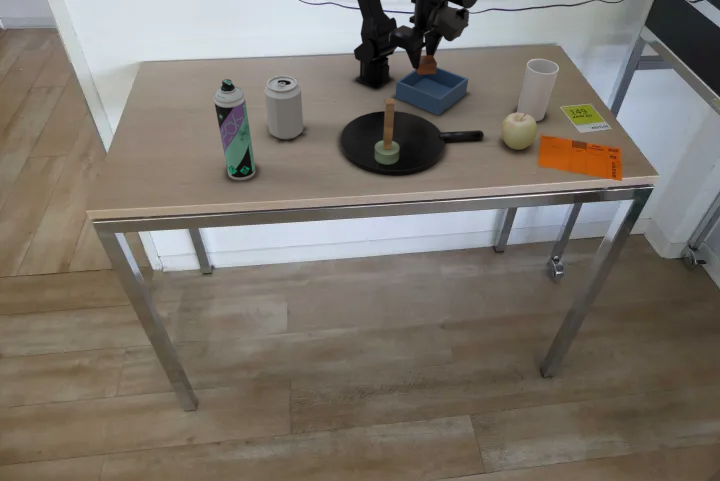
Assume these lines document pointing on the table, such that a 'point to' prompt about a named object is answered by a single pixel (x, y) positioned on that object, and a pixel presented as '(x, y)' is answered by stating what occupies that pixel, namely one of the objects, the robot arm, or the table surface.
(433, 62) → the reddish brown square block
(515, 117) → the fruit
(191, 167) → the table surface
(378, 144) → the dish brush
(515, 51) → the table surface
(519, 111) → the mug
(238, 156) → the spray can
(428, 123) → the griddle pan
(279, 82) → the can
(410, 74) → the bin
